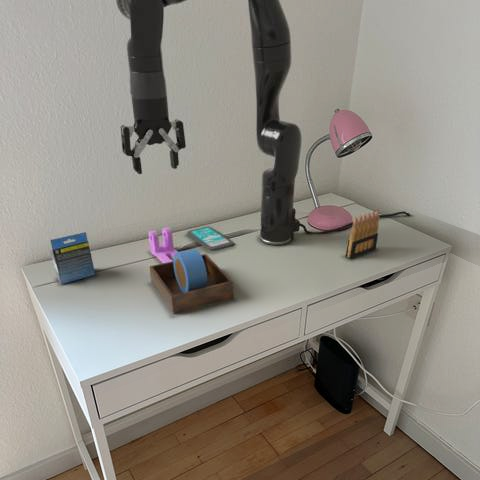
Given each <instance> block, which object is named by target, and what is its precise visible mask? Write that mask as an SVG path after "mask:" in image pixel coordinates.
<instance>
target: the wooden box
mask: <svg viewBox="0 0 480 480" xmlns="http://www.w3.org/2000/svg"><path fill="white" fill-rule="evenodd" d="M201 256H202V258H203V260H204V263H205V267H206V272H207V286H206V287H205V288H201V289H197V290H193V291H189V292H185V293H183V292H182V291H181V290H180V288H179V285H178V282H177V279H176V276H175V271H174V265H173V260H172V261H171V262H167V263H163V262H162V263H159V264H153V265H149V274H150V282H151V284H152V285H153V287H154V288H155V289H156V291H157V293H158V294H159V296H160V297H161V298H162V300H163V302H164V303H165V304H166V306H168V309H169V310H170V311H171V313H172V314H173V315H176V314H179V313H183V312H186V311H191V310H194V309H199V308H202V307H205V306H209V305H213V304H218V303H221V302H225V301H229V300H231V299H234V281H233V280H232V279H231V278H230V277H229V276H228V275H227V274H226V273H225V272H224V271H223V269H221V267H219V266H218V265H217V263H215V262H214V260H212V259H211V258H210V256H209V255H208V254H207V253H203V254H201Z"/></svg>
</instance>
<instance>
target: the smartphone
mask: <svg viewBox="0 0 480 480" xmlns="http://www.w3.org/2000/svg"><path fill="white" fill-rule="evenodd" d="M186 235H187V236H188V237H189V238H190V239H192V240H193V241H195V242H196V243H197V244H199V245H200V246H202V247H204V248H205V249H206V250H208V251H210V252H215V251H219V250H223V249H226V248H229V247H233V246H234V242H233V241H232V240H231V239H229V238H228V237H227V236H225V235H224V234H222V233H220V232H219V231H218V230H216V229H215V228H213V227H211V226H203V227H199V228H194V229H191V230H188V231H187V234H186Z"/></svg>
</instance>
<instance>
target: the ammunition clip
mask: <svg viewBox="0 0 480 480" xmlns="http://www.w3.org/2000/svg"><path fill="white" fill-rule="evenodd" d="M379 215H380V209H377V210H376V212H375V210H373V211H372V213H371V212H368V213H367V214H366V213H364V215H363V216H362V215H361V214H360V215H359V217H357V216H355V217H354V218H353V221H352V222H353V225H351V226H352V227H351V229H350V236H349V239H348V240H347V246H346V251H345V258H347V259H349V260H353V259H355V258H358V257H361V256H363V255H365V254H368V253H370V252H374V251H376V250H377V244H378V237H379V233H378V232H379V231H378V230H379V224H380V223H379V221H380V217H379ZM366 217H367V218H366ZM357 220H358V222H357Z"/></svg>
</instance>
